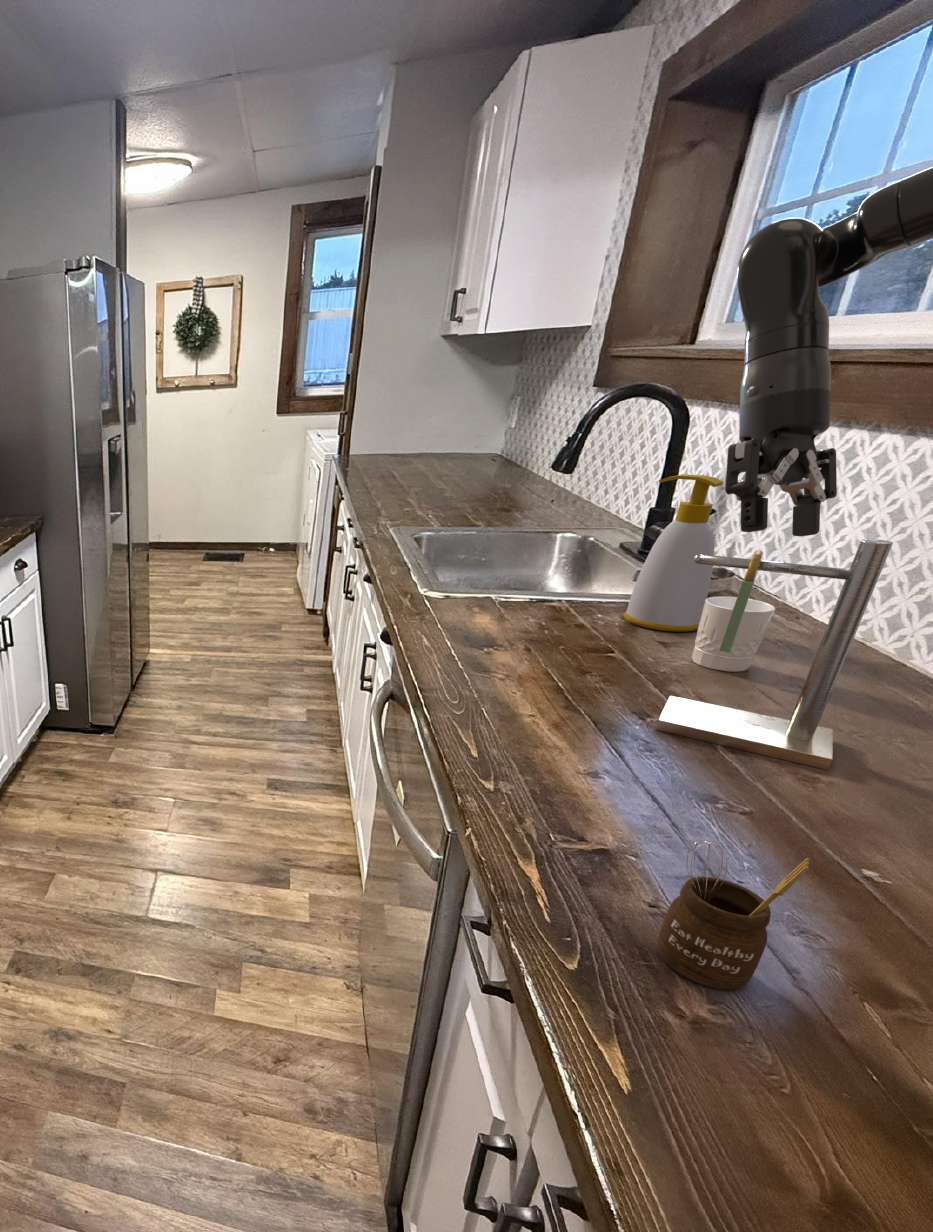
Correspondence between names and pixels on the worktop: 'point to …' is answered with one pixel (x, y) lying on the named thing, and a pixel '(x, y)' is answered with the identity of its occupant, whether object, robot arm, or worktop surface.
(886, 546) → the stand
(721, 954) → the utensil holder
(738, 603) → the green spatula stick
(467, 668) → the worktop surface
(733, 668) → the white cup
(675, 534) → the soap bottle
